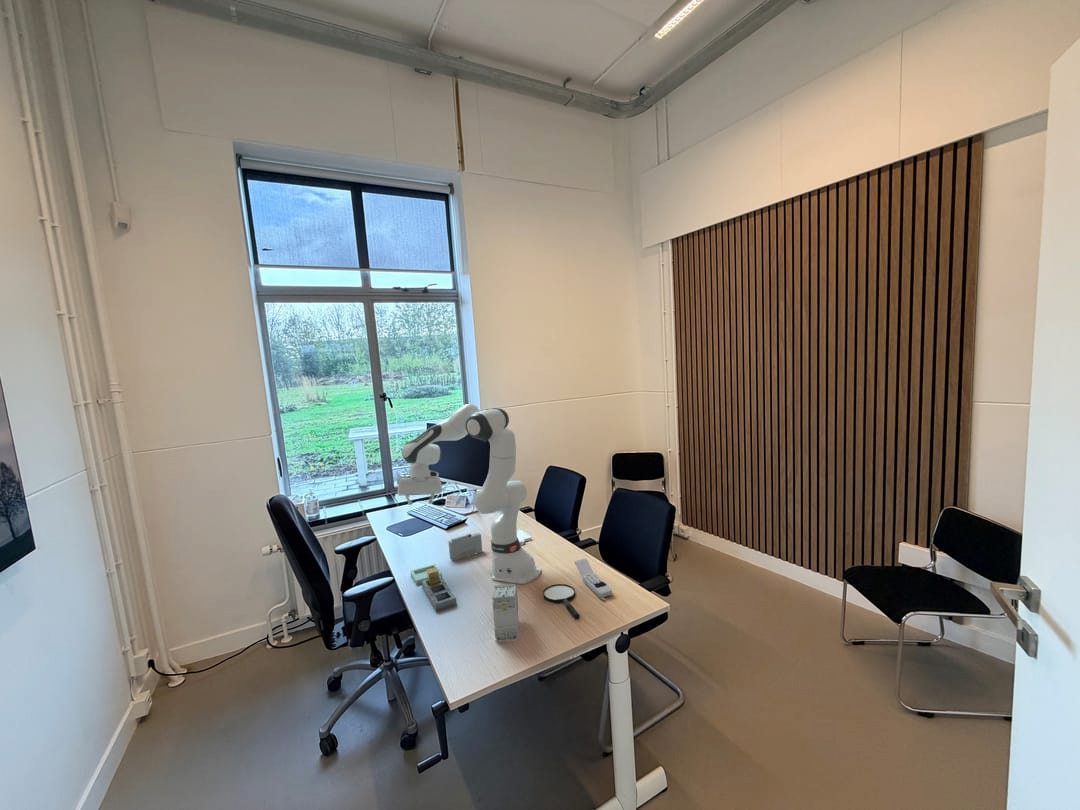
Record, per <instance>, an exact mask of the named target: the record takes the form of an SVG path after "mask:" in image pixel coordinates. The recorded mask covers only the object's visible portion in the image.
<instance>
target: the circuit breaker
mask: <svg viewBox="0 0 1080 810" xmlns="http://www.w3.org/2000/svg"><path fill="white" fill-rule="evenodd" d="M516 584H517V583H509V584H507V583H506V584H496V585H493V587H492V594H491V596H492V597H491V599H492V600H491V602H492V603H491V604H492V611H493V625H494V626H493V628H494V638H495V640H494V642H495V643H497V642H509V641H518V640H519V628H520V625H519V623H520V622H519V603H518V602H519V600H518V590H517V587H516V586H517V585H516Z"/></svg>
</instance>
